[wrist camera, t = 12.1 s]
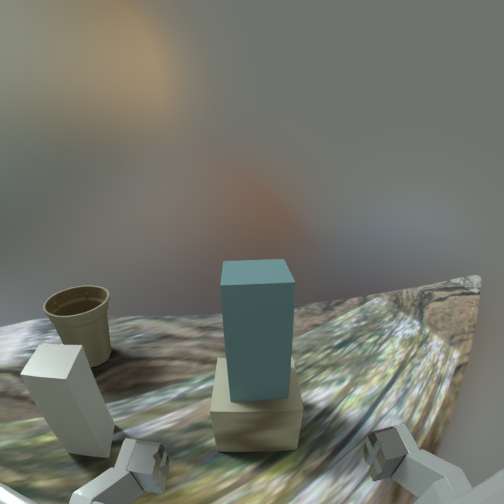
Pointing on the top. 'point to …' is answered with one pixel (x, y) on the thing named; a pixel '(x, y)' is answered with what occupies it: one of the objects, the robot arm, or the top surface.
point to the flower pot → (82, 320)
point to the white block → (70, 399)
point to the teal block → (258, 328)
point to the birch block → (255, 418)
